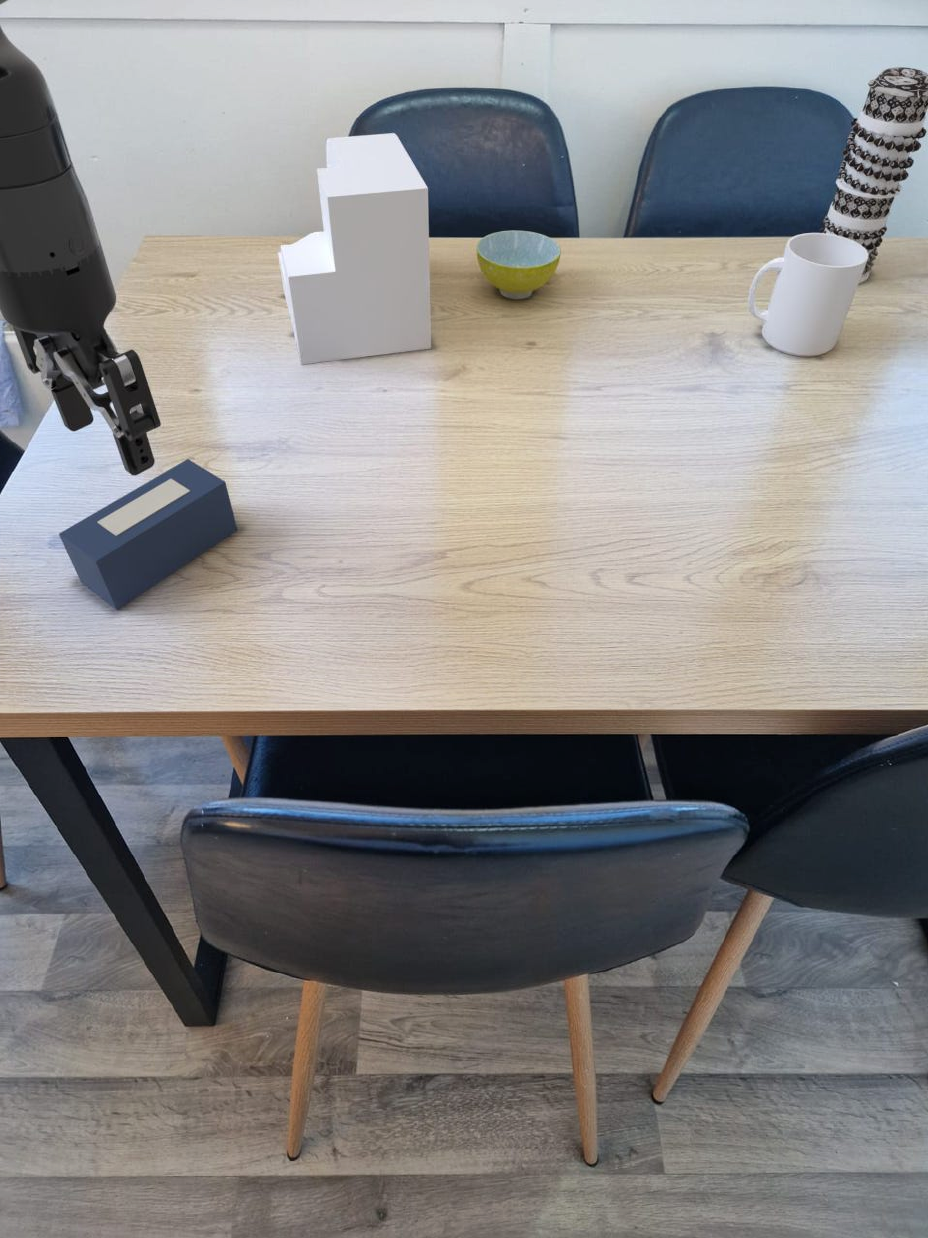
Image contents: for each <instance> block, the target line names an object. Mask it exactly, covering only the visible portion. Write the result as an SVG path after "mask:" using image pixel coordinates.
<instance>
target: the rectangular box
mask: <svg viewBox="0 0 928 1238" xmlns="http://www.w3.org/2000/svg"><path fill="white" fill-rule="evenodd" d="M237 531H238V527H237V523H236V518H235V515H234V511H233V506H232V502H231V499H230V494H229V491H228V486H227V483H226V481H225V480H224V479H222V478H220V477H219V476H217V475H216V474H213V473H212V472H210V471H208V470H207V469H205V468H204V467H202V466H200V465H199V464H197V463H196V462H194V461H192V460H190V459H189V458H187V459H185V460H183V461H181V462H180V463H178V464H176V465H175V466H173V467H171V468H170V469H168V470H166V471H164V472H163V473H161V474H159V475H157V476H156V477H154V478H153V479H151V480H149V481H147V482H146V483H145V482H144V484H141V485H140V486H139V487H137V488H135V489H133V490H132V491H130V492H128V493H127V494H125V495H123V496H121V497H120V498H118V499H116V500H115V501H112V502H111V503H109V504H107V505H106V506H104V507H102V508H100V509H99V510H97V511H95V512H94V513H92V514H90V515H89V516H86V517H85V518H83V519H81V520H79V521H78V522H76V523H75V524H73V525H71V526H69V527H68V528H66V529H65V530H62V531H60V532H59V533H58V536H59V538H60V540H61V542H62V544H63V546H64V549H65V551H66V553H67V555H68V558H69V559H70V562H71V563H72V566H73V568H74V569H75V572H76V575H77V576H78V579H79V581H80V583H81V584H82V585H84V586H85V587H86V588H88V589H89V590H90V591H92V593H94V594H95V595H96V596H98V597H99V598H101V599H102V600H103V601H104V602H106V603H107V604H108V605H110V606H111V607H112V608H113V609H115V610H116V611H118V610H120V608H122V607H124V606H126V605H127V604H128V603H130V602H131V601H133V600H134V599H136V598H138V597H139V596H140V595H142V594H143V593H145V592H146V591H148V590H150V589H151V588H153V587H154V586H155V585H157V584H158V583H160V582H161V581H164V580H165V579H166V578H168V577H169V576H170V575H173V574H174V573H175V572H177V571H178V570H179V569H181V568H183V567H184V566H186V565H187V564H189V563H190V562H191V561H194V559H197V558H198V557H199V556H201V555H202V554H204V553H205V552H207V551H208V550H210V549H212V548H213V547H214V546H216V545H217V544H219V543H221V542H222V541H224V540H225V539H227V538H228V537H230V536H231V535H233V534H234V533H235V532H237Z"/></svg>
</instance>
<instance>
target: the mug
mask: <svg viewBox="0 0 928 1238" xmlns="http://www.w3.org/2000/svg"><path fill="white" fill-rule="evenodd" d="M867 260H868V252H867V250H866V249H865V248H864V247H863V246H862V245H860V244H858V243H857V242H855V241H853V240H850V239H848V238H845V237H841V236H837V235H832V234H826V233H820V232H807V233H805V232H804V233H801V234H796V235H794V236H792V237H790V238H789V239H788V240H787V241H786V245H785V248H784V251H783V256H781V257H775V258H773V259H771V260H769V261H768V262H766V263H765V264H764V265H762V266H761V267H760V268H759V270H758V271H757V273H756V274H755V275H754V278H753V280H752V282H751V284H750V288H749V292H748V299H747V306H748V310H749V313H750V314H751V315H752V317H753V318H754V319H757V320H758V321H760V322H761V323H762V329H761V334H762V338H763V339H764V340H765V341H766V342H767V344H768V345H769V346H770V347H772V348H773V349H775V350H777V351H779V352H781V353H784V354H787V355H790V356H794V357H796V356H797V357H805V358H806V357H807V358H808V357H817V356H820V355H821V356H822V355H823V354H825V353H828V352H829V351H831V350H833V348H834V347H835V346H836V344H837V342H838V340H839V339H840V335H841V333H842V330H843V327H844V324H845V321H846V319H847V316H848V313H849V311H850V308H851V306H852V302H853V300H854V297H855V294H856V292H857V289H858V287H859V285H860V283H859V281H860V278H861V276H862V273H863V270H864V268H865V265H866V262H867ZM769 271H776V272H777V274H776V279H775V282H774V286H773V289H772V292H771V296H770V299H769V301H768V302H769V303H768V306H767V309H765V310H762V311H761V310H758V308H757V306H756V302H755V299H756V298H755V297H756V291H757V287H758V284H759V283H760V280H761V278H763V276H764V275H765V273H767V272H769Z"/></svg>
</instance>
